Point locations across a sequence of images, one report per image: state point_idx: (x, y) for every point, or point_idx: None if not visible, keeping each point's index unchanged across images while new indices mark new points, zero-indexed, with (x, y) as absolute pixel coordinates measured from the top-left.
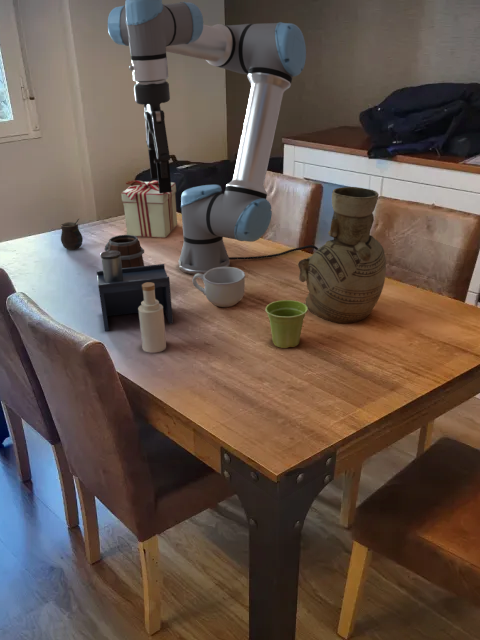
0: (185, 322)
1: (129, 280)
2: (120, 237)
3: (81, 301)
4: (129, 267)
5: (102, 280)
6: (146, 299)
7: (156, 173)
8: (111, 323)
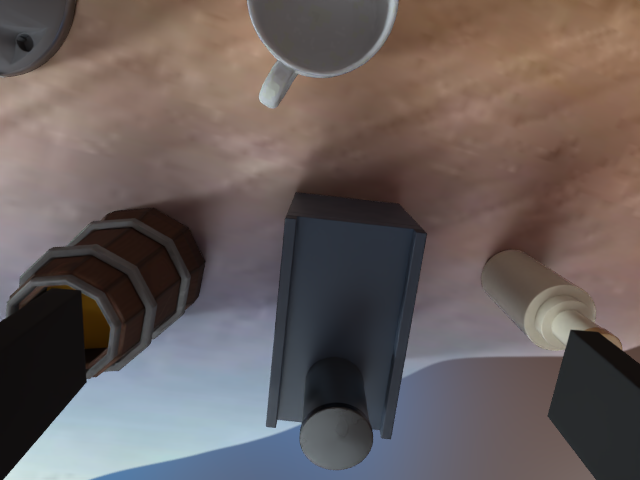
0: (406, 170)
1: (358, 342)
2: None
3: (171, 385)
4: (162, 296)
5: None
6: None
7: (62, 362)
8: None
